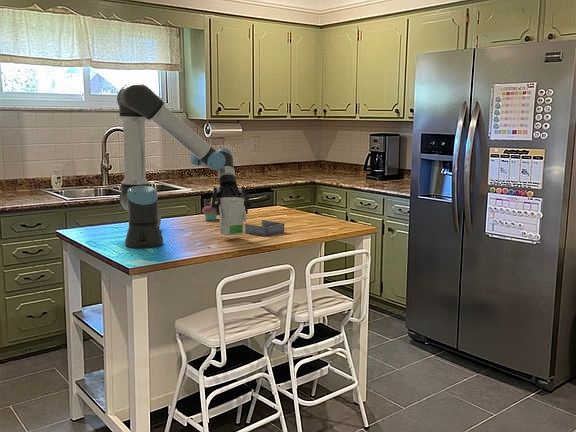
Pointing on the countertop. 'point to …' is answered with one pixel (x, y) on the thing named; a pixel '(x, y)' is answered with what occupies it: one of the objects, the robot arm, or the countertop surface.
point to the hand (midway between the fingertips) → (233, 220)
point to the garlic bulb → (159, 220)
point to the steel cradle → (265, 228)
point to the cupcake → (209, 212)
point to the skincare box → (232, 216)
